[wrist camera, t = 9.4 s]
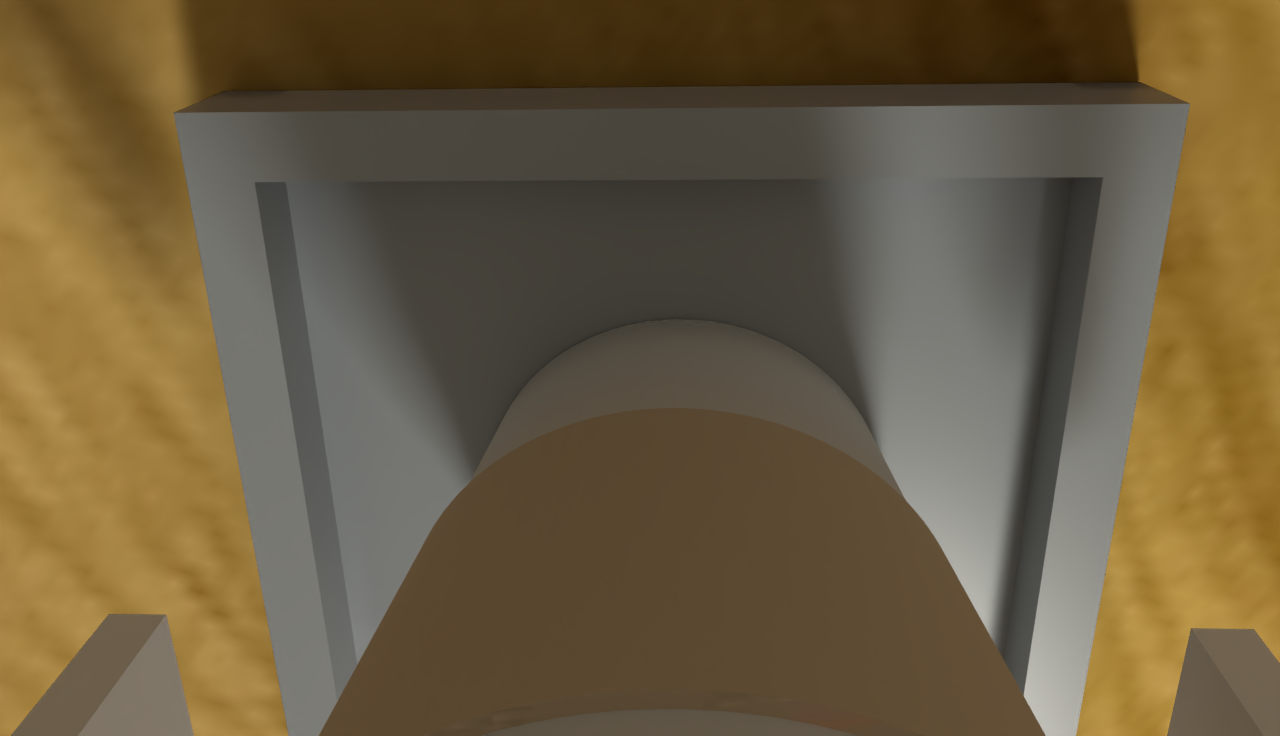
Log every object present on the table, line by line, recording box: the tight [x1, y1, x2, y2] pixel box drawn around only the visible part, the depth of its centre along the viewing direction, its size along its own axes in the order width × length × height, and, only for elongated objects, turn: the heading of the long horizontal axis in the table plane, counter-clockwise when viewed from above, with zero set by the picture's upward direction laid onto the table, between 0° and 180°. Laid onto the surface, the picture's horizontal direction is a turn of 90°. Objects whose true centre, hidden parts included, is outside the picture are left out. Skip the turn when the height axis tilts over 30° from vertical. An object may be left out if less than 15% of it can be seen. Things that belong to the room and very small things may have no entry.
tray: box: [174, 82, 1190, 736], centre depth 19 cm, size 14×14×2 cm
